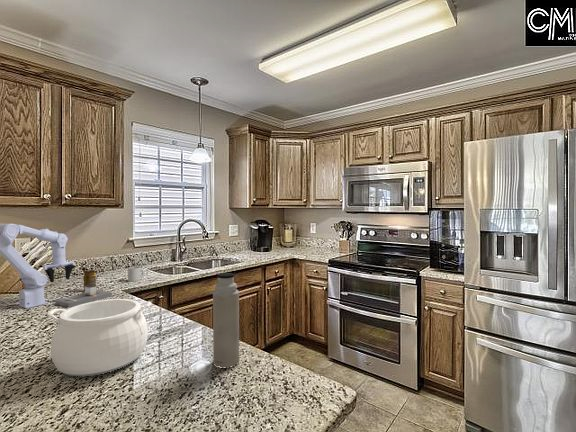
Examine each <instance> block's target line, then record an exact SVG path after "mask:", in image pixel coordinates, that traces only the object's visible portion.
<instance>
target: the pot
mask: <svg viewBox="0 0 576 432" xmlns="http://www.w3.org/2000/svg"><path fill="white" fill-rule="evenodd" d="M151 306H152V302H151V301H144V302H142V304H140V302H138V301H137V300H134V299H129V298H126V299H125V298H111V299H100V300H96V301H92V302H88V303H84V304H80V305H77V306H73V307H68V308H67V309H65V308H53V309H51V310H49V311H48V312H47V313H46V314H47V315H46V316H47V317H50V318H53V319H54V320H55V321H56V322H57V326H56V329H55V330H54V332H53V334H52V336H51V340H50V343H49V344H50V357H51V360H52V362H53V364H54V366H55V368H56V370H58V371H59V372H60V373H62V374H64V375H65V374H66V376H68V375H69V377H73V376H76V377H75V378H86V377H85V376H91V377H95V376H94V375H98V376H100V375H99V374H103V373H107V372H110V371H113V372H115V371H114V370H116V371H118V370H117V369H119V370H121V369H123V368H125V367H127V366H129V365H131V364H132V363H134V362H135V361H136V360H137V359H138V358H139V357H140V356H141V354H143V352H144V349H146V346H147V341H148V336H149V335H148V331H149V330H148V329H149V328H148V323H147V319H146V317H145V315H144V313H143V312H142V311H143V310H144V309H149V308H150V307H151ZM57 312H61V313H60V314H59V317H57V316H55V315H54V313H57ZM133 361H134V362H133ZM130 363H131V364H130ZM128 364H129V365H128ZM126 365H127V366H126ZM124 366H125V367H124ZM122 367H123V368H122ZM120 368H121V369H120ZM110 373H111V372H110ZM107 374H108V373H107ZM103 375H104V374H103ZM77 376H78V377H77ZM79 376H80V377H79ZM81 376H82V377H81Z"/></svg>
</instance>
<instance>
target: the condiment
mask: <svg viewBox="0 0 576 432" xmlns="http://www.w3.org/2000/svg"><path fill="white" fill-rule="evenodd" d="M83 274H84V275H83V289H82V290H81V292H82V294H84V293H85V287H84V285H89V284H92V285H96V286H97V279H96V278H97V275H96V270H94V269H87V270H84V273H83ZM97 290H98V289H97V288H96V291H97Z"/></svg>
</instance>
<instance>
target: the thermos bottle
mask: <svg viewBox="0 0 576 432" xmlns="http://www.w3.org/2000/svg"><path fill="white" fill-rule="evenodd" d="M217 277H218V279H217V283H216V284H215V285H214V291H213V292H212V327H213V328H212V333H213V334H212V336H213V337H212V340H213V341H212V342H213V344H212V345H213V346H212V348H213V350H212V353H213V357H212V358H213V363H214V364H215V365H216V366H220V367H229V366H232V365H235V364H237V363H238V362H240V292H239V290H238V289H237V288H238V285H237V283H235V281H234V280H235V279H234V277H235V273H232V272H223V273H219V274H218V275H217ZM214 364H213V365H214ZM238 364H239V363H238ZM238 364H237V365H238Z"/></svg>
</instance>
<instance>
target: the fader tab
mask: <svg viewBox="0 0 576 432" xmlns="http://www.w3.org/2000/svg"><path fill="white" fill-rule="evenodd" d="M84 287H85V294H87V295H93V294H96V289H97V284H96V285H92V284H89V285H84V284H83V288H84Z"/></svg>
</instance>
